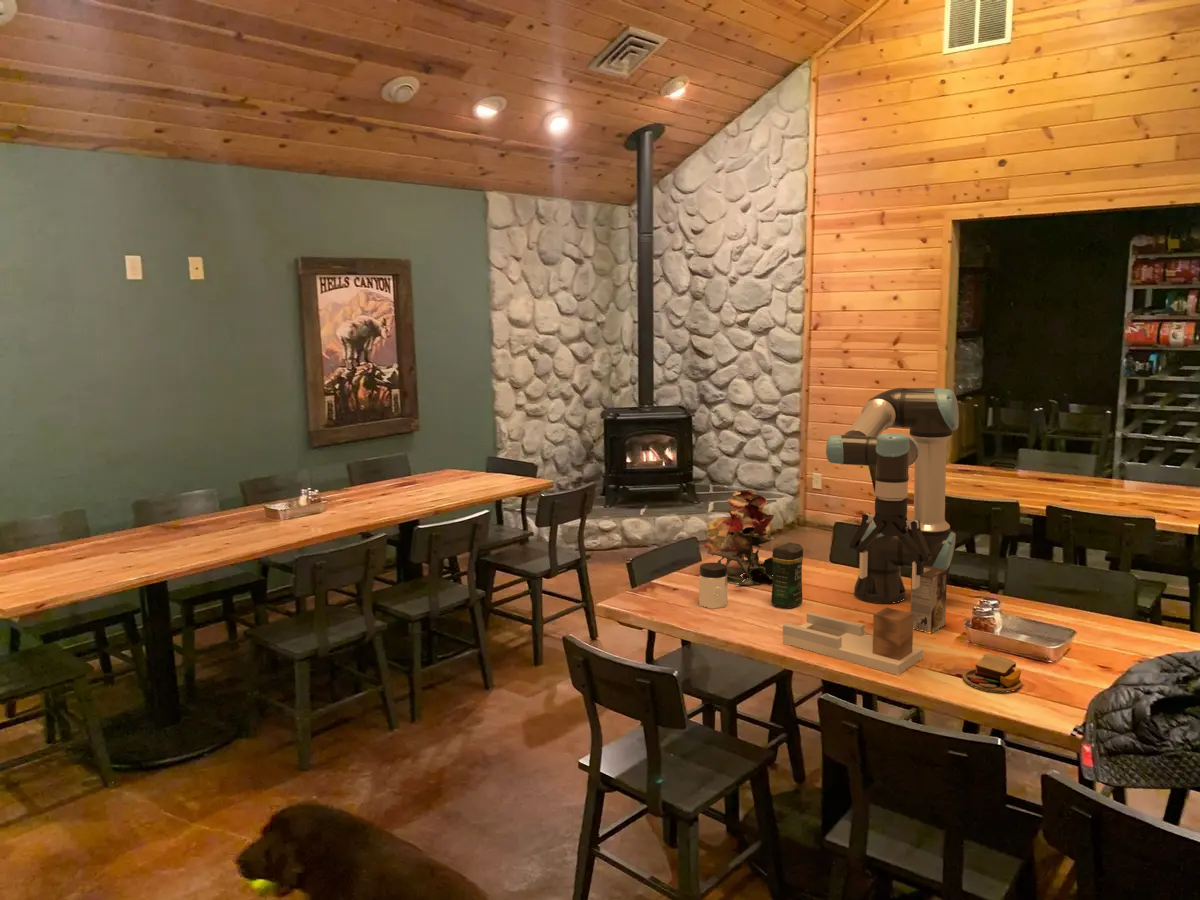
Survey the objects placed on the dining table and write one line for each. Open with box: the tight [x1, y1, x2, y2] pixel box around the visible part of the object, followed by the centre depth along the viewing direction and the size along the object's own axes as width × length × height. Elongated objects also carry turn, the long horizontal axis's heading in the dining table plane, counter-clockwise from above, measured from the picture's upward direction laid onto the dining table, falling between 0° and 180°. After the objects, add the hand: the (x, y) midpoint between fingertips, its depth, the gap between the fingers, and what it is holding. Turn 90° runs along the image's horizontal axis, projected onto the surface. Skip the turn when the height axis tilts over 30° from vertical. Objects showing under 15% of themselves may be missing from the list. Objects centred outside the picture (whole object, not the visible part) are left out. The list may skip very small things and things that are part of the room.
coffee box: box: [909, 566, 948, 633], centre depth 238 cm, size 9×6×16 cm
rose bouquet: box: [704, 488, 783, 587], centre depth 289 cm, size 26×29×30 cm
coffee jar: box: [770, 542, 804, 609], centre depth 260 cm, size 10×8×19 cm
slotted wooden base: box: [782, 612, 925, 676], centre depth 223 cm, size 32×14×5 cm, turn 46°
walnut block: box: [872, 607, 914, 661], centre depth 214 cm, size 7×7×10 cm
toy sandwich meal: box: [962, 653, 1022, 693], centre depth 202 cm, size 12×14×5 cm
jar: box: [698, 562, 728, 609], centre depth 261 cm, size 9×8×12 cm
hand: (888, 582), depth 213 cm, fingers open, 13 cm apart
